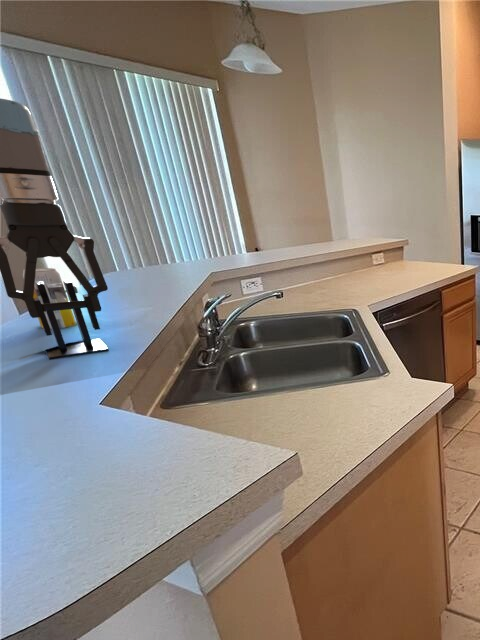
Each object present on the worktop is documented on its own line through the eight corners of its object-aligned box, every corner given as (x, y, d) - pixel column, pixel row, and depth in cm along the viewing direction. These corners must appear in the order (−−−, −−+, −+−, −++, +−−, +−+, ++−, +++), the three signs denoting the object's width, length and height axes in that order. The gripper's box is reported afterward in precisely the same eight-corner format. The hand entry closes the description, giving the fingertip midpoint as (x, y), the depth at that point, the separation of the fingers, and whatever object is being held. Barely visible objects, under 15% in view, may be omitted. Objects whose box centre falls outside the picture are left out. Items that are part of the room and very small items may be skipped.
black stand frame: (110, 354, 93) (87, 283, 88) (50, 363, 87) (22, 287, 82) (101, 343, 100) (80, 277, 95) (45, 351, 94) (19, 280, 89)
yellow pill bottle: (77, 328, 112) (57, 267, 107) (78, 332, 108) (57, 270, 103) (43, 331, 108) (21, 269, 103) (43, 336, 104) (20, 271, 99)
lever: (88, 310, 86) (85, 298, 85) (45, 315, 81) (40, 302, 80) (77, 293, 92) (73, 282, 91) (36, 296, 88) (32, 284, 87)
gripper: (-57, 199, 68) (1, 344, 76) (105, 204, 81) (139, 326, 90) (-55, 199, 73) (0, 335, 81) (98, 203, 86) (131, 320, 94)
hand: (73, 330), depth 85 cm, fingers closed on lever, 6 cm apart
